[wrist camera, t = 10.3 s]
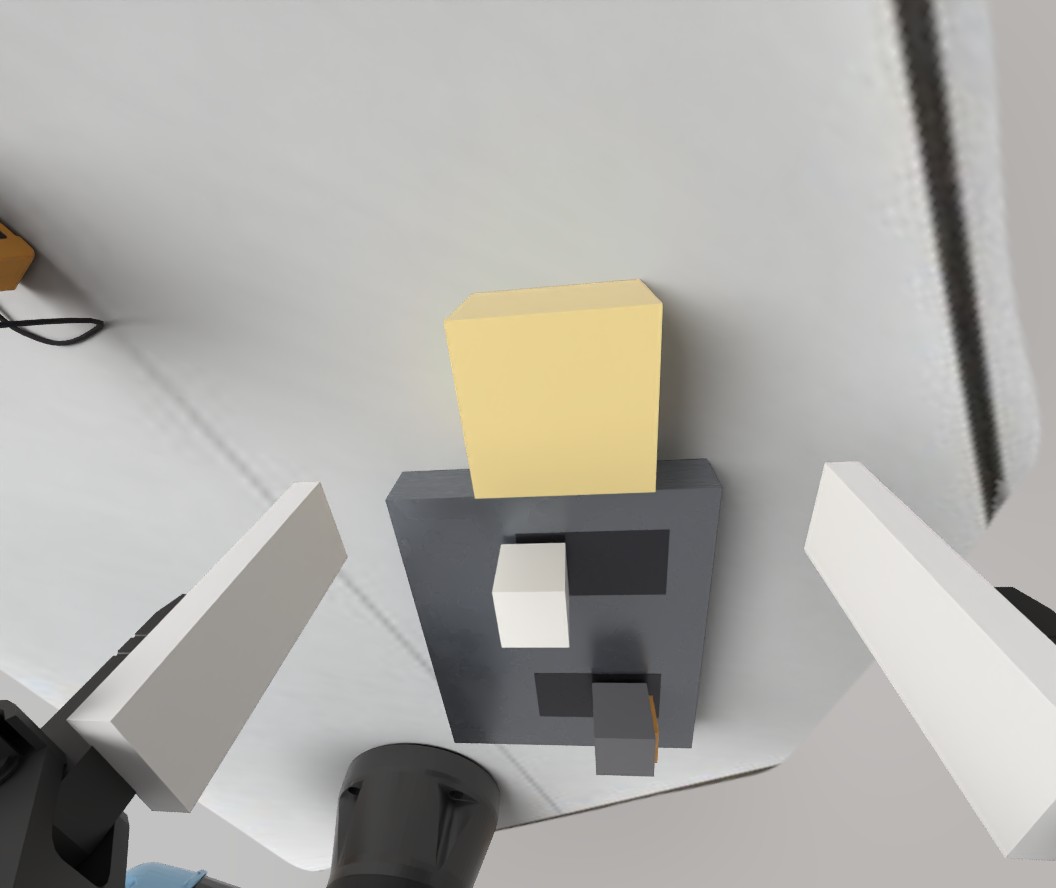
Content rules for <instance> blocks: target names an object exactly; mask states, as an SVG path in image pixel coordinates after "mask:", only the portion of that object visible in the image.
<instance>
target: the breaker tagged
mask: <svg viewBox="0 0 1056 888" xmlns="http://www.w3.org/2000/svg"><path fill="white" fill-rule="evenodd" d="M592 696H593V717H594V737H595V756H596V775H621V776H654V764H655V763H657V758H658V742H659V730H658V724H657V718H656V713H655V707H654V701H653V696H649V695H648V688H647V683H592Z"/></svg>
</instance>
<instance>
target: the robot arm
mask: <svg viewBox="0 0 1056 888" xmlns="http://www.w3.org/2000/svg"><path fill="white" fill-rule="evenodd" d="M804 551H805V552H806V554H807V555H808V557H809V558H810V560H811V561H812V563H813V564H814V566H815V567H816V569H817V570H818V572H819V574H820V575H821V577H822V578H823V580H824V581H825V583H826V584H827V586H828V587H829V589H830V590H831V592H832V593H833V595H834V597H835V598H836V600H837V601H838V603H839V604H840V606H841V607H842V609H843V610H844V612H845V613H846V615H847V616H848V618H849V619H850V621H851V623H852V624H853V626H854V627H855V629H856V630H857V632H858V633H859V635H860V636H861V638H862V639H863V641H864V642H865V644H866V646H867V647H868V649H869V650H870V652H871V653H872V655H873V656H874V658H875V659H876V661H877V662H878V664H879V665H880V667H881V669H882V670H883V672H884V673H885V675H886V676H887V678H888V679H889V681H890V682H891V684H892V685H893V687H894V688H895V690H896V691H897V693H898V695H899V696H900V698H901V699H902V701H903V702H904V704H905V705H906V707H907V708H908V710H909V711H910V713H911V715H912V716H913V718H914V719H915V721H916V722H917V724H918V725H919V727H920V728H921V730H922V731H923V733H924V734H925V736H926V738H927V739H928V741H929V742H930V744H931V745H932V747H933V748H934V750H935V751H936V753H937V754H938V756H939V757H940V759H941V760H942V762H943V763H944V765H945V767H946V768H947V770H948V771H949V773H950V774H951V776H952V777H953V779H954V780H955V782H956V783H957V785H958V787H959V788H960V790H961V791H962V793H963V794H964V796H965V797H966V799H967V800H968V802H969V803H970V805H971V806H972V808H973V809H974V811H975V813H976V814H977V816H978V817H979V819H980V820H981V822H982V823H983V825H984V826H985V828H986V829H987V831H988V833H989V834H990V835H991V837H992V839H993V840H994V842H995V843H996V845H997V846H998V848H999V849H1000V851H1001V852H1002V854H1003V855H1004V857H1005V858H1011V859H1029V860H1049V861H1056V613H1055V612H1054V611H1052V610H1051V609H1050V608H1048V607H1046V606H1044V605H1043V604H1041V603H1039V602H1038V601H1036V600H1034V599H1032V598H1031V597H1029V596H1027V595H1025V594H1024V593H1022V592H1020V591H1019V590H1017V589H1015V588H1013V587H993V586H992V585H991V584H990V583H988V581H987V580H985V579H984V578H983V577H982V576H981V575H980V574H979V573H978V572H977V571H976V570H975V569H974V568H973V567H972V566H970V565H969V564H968V563H967V562H966V561H965V560H964V559H963V558H962V557H961V556H960V555H959V554H958V553H957V552H955V551H954V550H953V549H952V548H951V547H950V546H949V545H948V544H947V543H946V542H945V541H944V540H943V539H942V538H940V537H939V536H938V535H937V534H936V533H935V532H934V531H933V530H932V529H931V528H930V527H929V526H928V525H927V524H925V523H924V522H923V521H922V520H921V519H920V518H919V517H918V516H917V515H916V514H915V513H914V512H913V511H911V510H910V509H909V508H908V507H907V506H906V505H905V504H904V503H903V502H902V501H901V500H900V499H899V498H898V497H896V496H895V495H894V494H893V493H892V492H891V491H890V490H889V489H888V488H887V487H886V486H885V485H884V484H883V483H881V482H880V481H879V480H878V479H877V478H876V477H875V476H874V475H873V474H872V473H871V472H870V471H869V470H868V469H866V468H865V467H864V466H863V465H862V464H861V463H860V462H859V461H854V462H827V463H825V464H824V469H823V473H822V477H821V481H820V485H819V489H818V493H817V498H816V502H815V506H814V510H813V514H812V518H811V522H810V527H809V531H808V535H807V539H806V543H805V547H804ZM346 559H347V554H346V551H345V548H344V546H343V543H342V540H341V537H340V535H339V532H338V529H337V526H336V524H335V521H334V518H333V516H332V513H331V510H330V507H329V505H328V502H327V499H326V496H325V494H324V491H323V488H322V486H321V483H320V481H317V482H294V483H293V484H292V485H291V486H290V487H289V488H288V489H287V490H286V492H285V493H284V494H283V495H282V496H281V497H280V498H279V499H278V500H277V501H276V502H275V503H274V504H273V505H272V506H271V507H270V508H269V509H268V510H267V511H266V512H265V513H264V514H263V515H262V517H261V518H260V519H259V520H258V521H257V522H256V523H255V524H254V525H253V526H252V527H251V528H250V529H249V530H248V531H247V532H246V533H245V534H244V535H243V536H242V537H241V538H240V539H239V540H238V542H237V543H236V544H235V545H234V546H233V547H232V548H231V549H230V550H229V551H228V552H227V553H226V554H225V555H224V556H223V557H222V558H221V559H220V560H219V561H218V562H217V563H216V564H215V565H214V566H213V568H212V569H211V570H210V571H209V572H208V573H207V574H206V575H205V576H204V577H203V578H202V579H201V580H200V581H199V582H198V583H197V584H196V585H195V586H194V587H193V588H192V589H191V590H190V591H189V593H188V594H182V595H181V596H179V597H178V598H176V599H175V600H173V601H172V602H171V603H169V604H168V605H166V606H165V607H163V608H162V609H160V610H159V611H158V612H156V613H155V614H154V615H153V616H152V617H151V618H150V619H149V620H148V621H147V622H146V623H145V624H144V625H143V626H142V627H141V628H140V629H139V630H138V631H137V632H136V633H135V637H134V638H130V639H129V640H128V641H127V642H126V643H125V644H124V645H123V646H122V647H121V648H120V649H119V650H118V654H117V656H113V657H112V658H111V659H110V660H109V661H108V662H107V663H106V664H105V665H104V666H103V667H102V668H101V669H100V670H99V671H98V672H97V673H96V674H95V675H94V676H93V677H92V678H91V679H90V680H89V681H88V682H87V683H86V684H85V685H84V686H83V687H82V688H81V689H80V690H79V691H78V692H77V693H76V694H75V695H74V696H73V697H72V698H71V699H70V700H69V701H68V702H67V703H66V704H65V705H64V706H63V707H62V708H61V709H60V710H59V711H58V712H57V713H56V714H55V715H54V716H53V717H52V718H51V719H50V720H49V721H48V722H47V723H46V724H45V725H44V726H43V727H42V728H41V729H40V728H38V726H37V725H36V724H35V723H34V722H33V721H32V720H31V719H30V718H29V717H27V716H26V715H25V714H24V713H23V712H22V711H21V710H20V709H19V708H18V707H17V706H16V705H15V704H14V703H12V702H10V701H8V700H0V888H240V887H236V886H234V885H231V884H227V883H225V882H222V881H219V880H216V879H213V878H210V877H208V876H205V875H206V874H207V871H205V870H200V871H198V872H194V871H190V870H186V869H182V868H178V867H174V866H169V865H166V864H162V863H156V862H150V863H144V864H141V865H138V866H136V867H134V868H132V869H130V870H128V871H127V872H126V867H127V852H128V839H129V822H128V817H127V815H126V814H125V813H124V812H123V810H124V809H125V808H126V806H127V805H128V803H129V802H130V801H131V799H132V798H133V797H134V795H135V794H137V795H138V797H139V798H140V799H141V800H142V801H143V802H144V803H145V804H146V805H147V806H148V807H149V808H150V809H151V810H152V811H166V812H183V813H190V812H191V811H192V809H193V807H194V806H195V804H196V803H197V801H198V799H199V798H200V796H201V795H202V793H203V791H204V790H205V788H206V786H207V785H208V783H209V782H210V780H211V778H212V777H213V775H214V773H215V772H216V770H217V769H218V767H219V765H220V764H221V762H222V760H223V759H224V757H225V756H226V754H227V752H228V751H229V749H230V747H231V746H232V744H233V743H234V741H235V739H236V738H237V736H238V734H239V733H240V731H241V730H242V728H243V726H244V725H245V723H246V721H247V720H248V718H249V717H250V715H251V713H252V712H253V710H254V708H255V707H256V705H257V704H258V702H259V700H260V699H261V697H262V695H263V694H264V692H265V691H266V689H267V687H268V686H269V684H270V682H271V681H272V679H273V678H274V676H275V674H276V673H277V671H278V670H279V668H280V666H281V665H282V663H283V661H284V660H285V658H286V657H287V655H288V653H289V652H290V650H291V648H292V647H293V645H294V644H295V642H296V640H297V639H298V637H299V635H300V634H301V632H302V631H303V629H304V627H305V626H306V624H307V622H308V621H309V619H310V618H311V616H312V614H313V613H314V611H315V609H316V608H317V606H318V605H319V603H320V601H321V600H322V598H323V596H324V595H325V593H326V592H327V590H328V588H329V587H330V585H331V583H332V582H333V580H334V579H335V577H336V575H337V574H338V572H339V570H340V569H341V567H342V566H343V564H344V562H345V561H346ZM499 801H500V793H499V789H498V787H497V785H496V783H495V781H494V780H493V779H492V778H491V776H490V775H489V774H488V773H487V772H486V771H484V770H483V769H482V768H481V767H479V766H478V765H476V764H475V763H473V762H471V761H469V760H468V759H466V758H463V757H461V756H459V755H457V754H454V753H451V752H448V751H445V750H441V749H438V748H433V747H428V746H421V745H409V744H399V745H388V746H382V747H378V748H374V749H371V750H369V751H366V752H364V753H362V754H361V755H359V756H358V757H357V758H355V759H354V760H353V762H352V763H351V765H350V767H349V769H348V772H347V774H346V777H345V779H344V782H343V785H342V787H341V790H340V794H339V799H338V809H337V818H336V828H335V837H334V847H333V856H332V866H331V874H330V878H329V881H328V884H327V887H326V888H473V885H474V883H475V881H476V878H477V875H478V873H479V870H480V868H481V865H482V863H483V860H484V857H485V855H486V852H487V850H488V847H489V845H490V842H491V840H492V837H493V834H494V832H495V829H496V825H497V819H498V810H499Z"/></svg>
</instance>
